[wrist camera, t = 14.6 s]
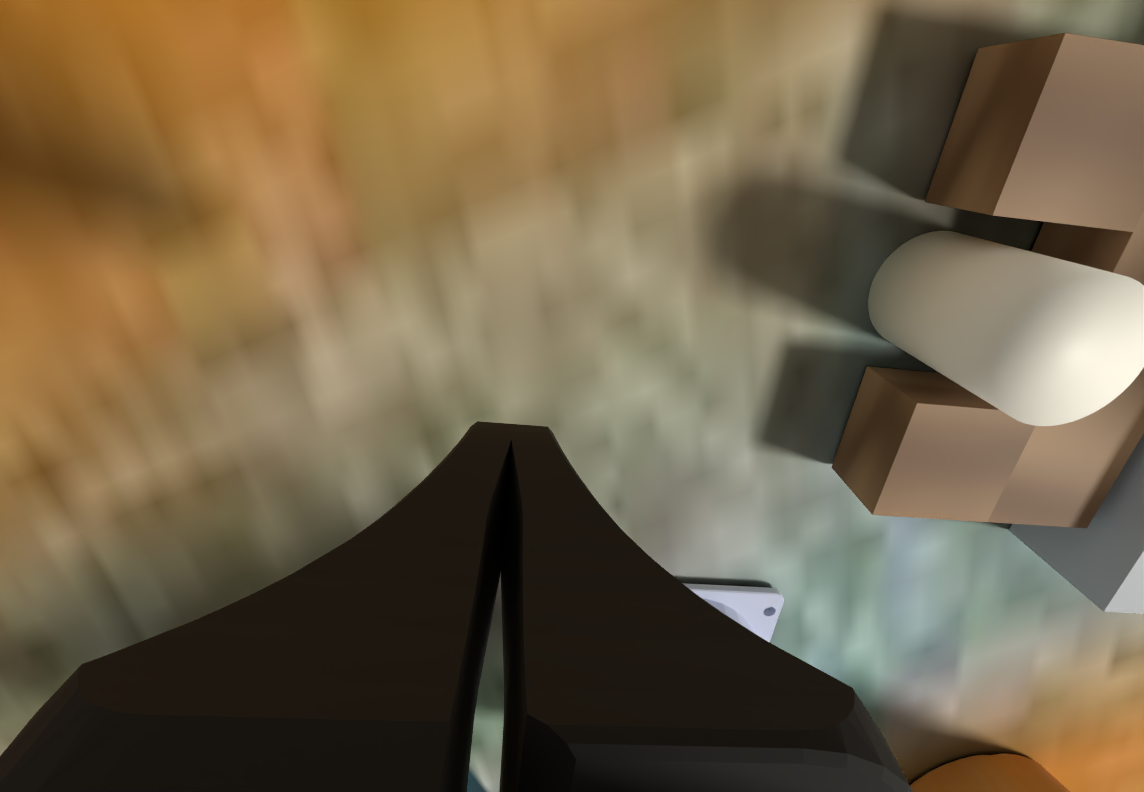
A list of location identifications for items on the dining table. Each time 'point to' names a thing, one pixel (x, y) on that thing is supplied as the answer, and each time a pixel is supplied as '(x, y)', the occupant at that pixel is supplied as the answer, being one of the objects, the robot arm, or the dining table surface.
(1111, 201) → the block
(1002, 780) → the flower pot
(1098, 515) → the wall
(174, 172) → the dining table surface
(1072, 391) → the dowel
